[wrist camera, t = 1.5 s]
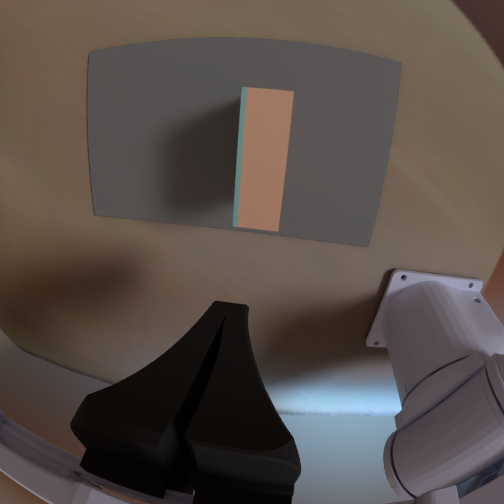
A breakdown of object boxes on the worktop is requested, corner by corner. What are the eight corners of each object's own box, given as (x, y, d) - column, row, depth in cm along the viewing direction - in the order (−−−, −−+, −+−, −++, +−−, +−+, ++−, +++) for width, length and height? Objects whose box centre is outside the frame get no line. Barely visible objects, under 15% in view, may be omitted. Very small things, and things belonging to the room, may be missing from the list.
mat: (399, 63, 15) (401, 62, 14) (367, 245, 21) (368, 247, 21) (91, 52, 16) (89, 51, 16) (96, 213, 22) (94, 215, 22)
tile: (292, 94, 17) (294, 91, 10) (282, 186, 19) (278, 231, 13) (259, 91, 17) (241, 86, 11) (251, 182, 20) (232, 226, 14)
